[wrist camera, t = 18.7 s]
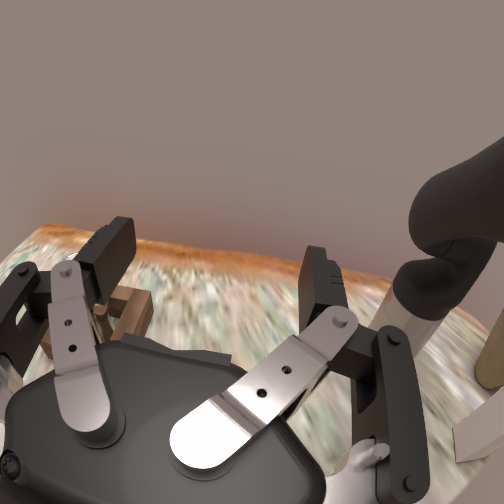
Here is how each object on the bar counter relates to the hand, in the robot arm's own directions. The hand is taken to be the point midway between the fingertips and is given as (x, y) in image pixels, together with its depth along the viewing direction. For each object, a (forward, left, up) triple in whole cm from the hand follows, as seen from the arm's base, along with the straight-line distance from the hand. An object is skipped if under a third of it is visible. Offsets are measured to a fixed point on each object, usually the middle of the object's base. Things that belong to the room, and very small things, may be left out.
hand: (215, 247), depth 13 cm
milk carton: (-22, +36, -32) cm, 53 cm away
